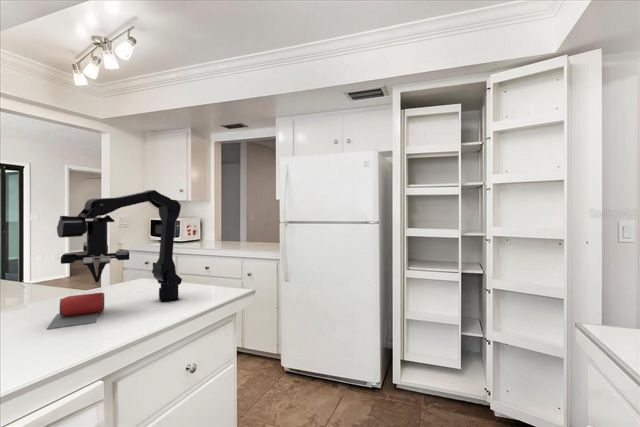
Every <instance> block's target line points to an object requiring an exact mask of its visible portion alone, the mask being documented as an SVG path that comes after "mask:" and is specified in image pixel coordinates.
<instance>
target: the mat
mask: <svg viewBox="0 0 640 427" xmlns="http://www.w3.org/2000/svg"><path fill="white" fill-rule="evenodd" d="M99 313H100V312H97V313H89V314H82V315H75V316H60V313H56V315H55V316H54V318H52V320H51V322H50V323H49V325H48V326H47V328H46V331H47V330H53V329H62V328H69V327H74V326H75V327H76V326H82V325H83V326H84V325H89V324H96V322H97V320H98V317H99Z"/></svg>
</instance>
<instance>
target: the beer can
mask: <svg viewBox="0 0 640 427" xmlns="http://www.w3.org/2000/svg"><path fill="white" fill-rule="evenodd" d="M104 311H105V293H104V292H94V293H86V294H77V295H69V296H65V297H63V298H60V300H59V314H60V316H75V315H82V314H89V313H97V312H99V313H102V312H104Z"/></svg>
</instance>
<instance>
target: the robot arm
mask: <svg viewBox="0 0 640 427" xmlns="http://www.w3.org/2000/svg"><path fill="white" fill-rule="evenodd" d="M146 202H149V203H150V204H151V205H152V206H154V207H155V208H157V209H158V215H159V218H160V221H161V228H160V242H159V255H158V256H159V258H158V260H156V262H152V269H151V270H152V271H151V274H153V278H154V279H155V280H157V283H158V284H160V287H158V300H160V302H161V303H164V302H166V303H167V302H172V301H179V300H180V298H179V285H181V283H182V281H183V278H182V277H180V275H178V273H177V272H176V271H177V270H176V265H175V261H174V259H173V258H174V257H173V255H174V243H175V241H174V240H175V228H176V227H175V226H176V221H178V218H179V216H180V213H181V210H182V205H181V203H180V202H179V201H178V200H177V199H171V198H170V197H168V196H167V195H164V194H161V193H160V192H159V191H157V190H155V189H149V190H148V189H147V190H145V191H141V192H136V193H131V194H127V195H122V196H117V197H103V198H102V197H101V198H90V199H87V201H86V202H85V204H84V205H83V206H84V208H83V209H81V211H80V213H78V215H77V216H75V215H74V216H73V215H72V216H71V215H70V216H69V215H60V216H59V220H58V222H57V226H56V231H57V236H58V237H59V238H60V239H61V238H78V237H83V235H85V234H86V241H84V242H83V247H82V248H83V253H85V254H79V252H65V253H64V254H62V255H61V256H60V264H64V265H65V264H74V263H75V262H76V261H83V263H82V265H83V266H87V268H88V269H89V271H90V273H91V275H92V278H93V280H94V282H95V283H96V284H97V283H99V282H100V279H101V277H102V275H103V274H102V273H103V270H104V268H105V267H106V265H107V264H108V265H109V264H111V259H116V260H118V261H128V260H130V251H129V250H128V249H126V250H125V249H124V250H123V249H122V250H116V251H115V252H110V253H109V245H108V223H115V219H113V218H112V217H111V216H110V215H108V214H111V213H113V212H115V211H116V210H119V209H121V208H124V207H129V206H134V205H139V204H141V203H142V204H143V203H146ZM102 216H103V217H102ZM87 219H88V220H87ZM89 219H90V220H89ZM96 260H99V262H98V267H97V266H96ZM97 268H98V269H97Z"/></svg>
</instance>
